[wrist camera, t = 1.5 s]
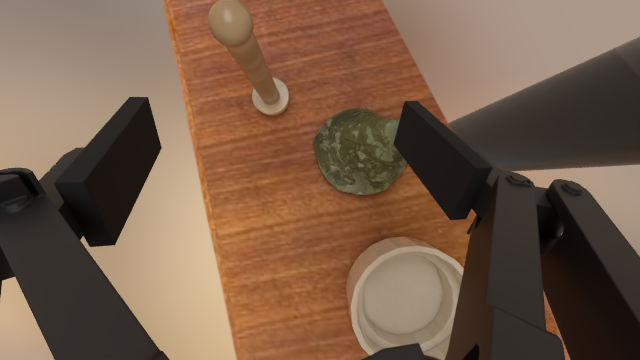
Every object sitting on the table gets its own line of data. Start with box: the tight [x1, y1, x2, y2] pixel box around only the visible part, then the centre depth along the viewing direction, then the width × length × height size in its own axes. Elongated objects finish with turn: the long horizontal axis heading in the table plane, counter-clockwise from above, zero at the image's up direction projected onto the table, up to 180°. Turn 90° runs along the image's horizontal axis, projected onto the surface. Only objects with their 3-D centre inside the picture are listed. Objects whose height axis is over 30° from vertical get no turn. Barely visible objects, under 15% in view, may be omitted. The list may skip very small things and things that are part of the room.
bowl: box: [346, 236, 464, 360], centre depth 33 cm, size 13×13×6 cm
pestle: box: [208, 0, 290, 116], centre depth 27 cm, size 4×4×18 cm
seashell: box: [313, 109, 408, 195], centre depth 34 cm, size 10×7×10 cm
